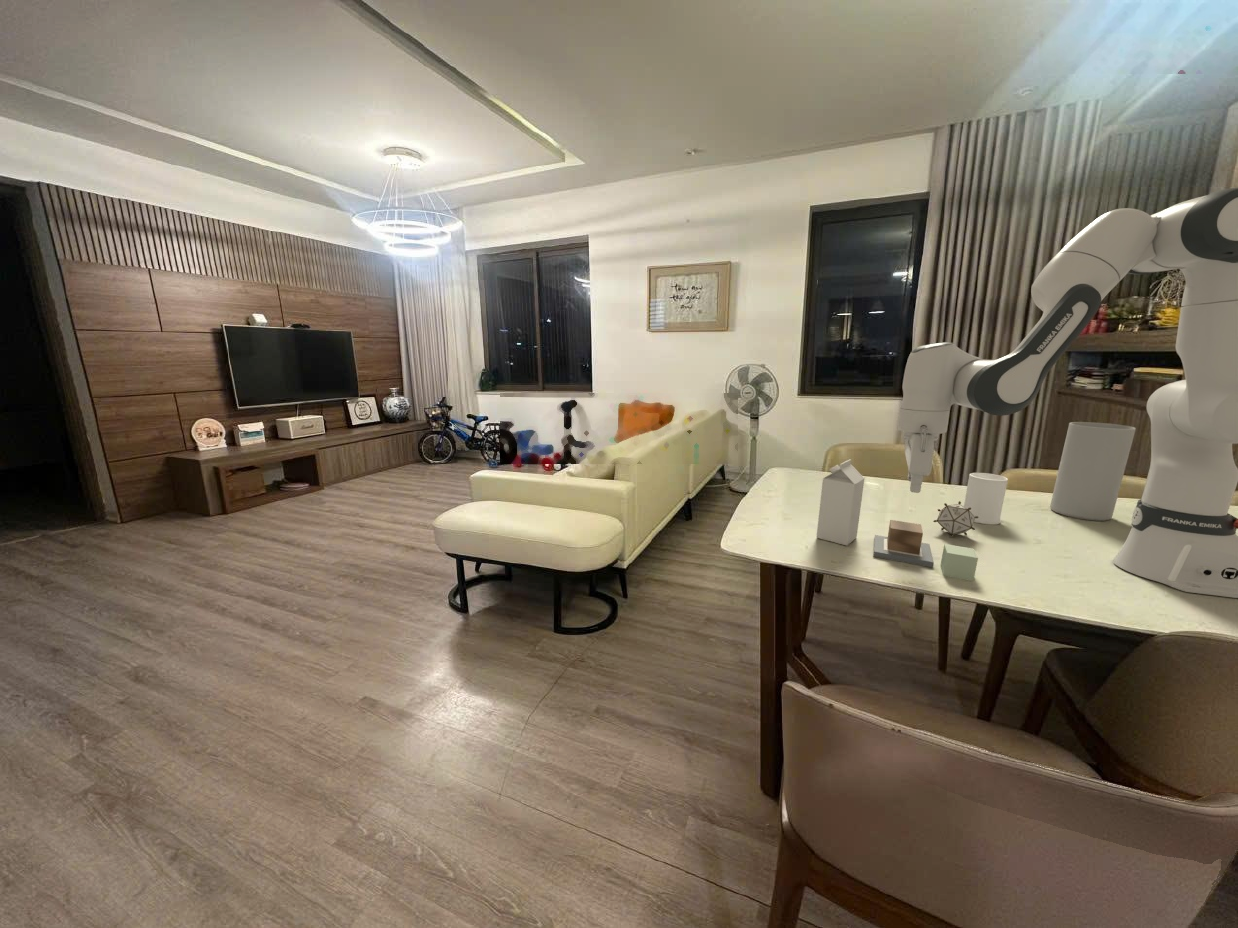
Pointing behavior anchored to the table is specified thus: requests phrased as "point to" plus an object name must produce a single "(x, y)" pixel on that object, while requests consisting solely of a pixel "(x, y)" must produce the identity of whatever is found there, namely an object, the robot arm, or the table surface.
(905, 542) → the walnut block
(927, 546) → the board
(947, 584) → the table surface
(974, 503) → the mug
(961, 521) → the game die
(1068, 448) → the cylinder vase
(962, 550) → the sage cube
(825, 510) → the milk carton
